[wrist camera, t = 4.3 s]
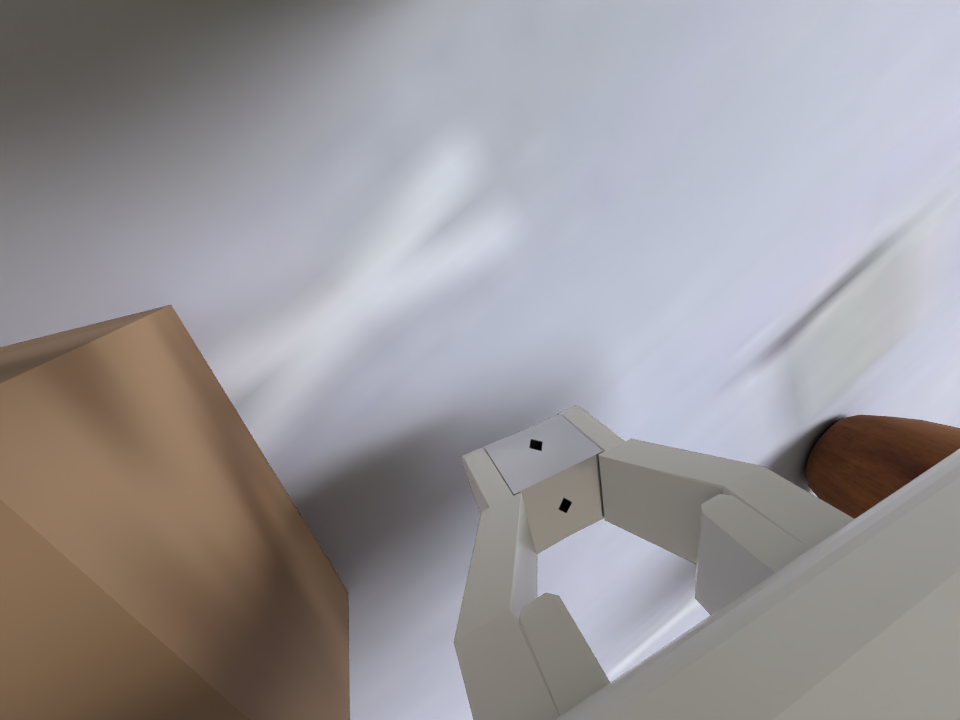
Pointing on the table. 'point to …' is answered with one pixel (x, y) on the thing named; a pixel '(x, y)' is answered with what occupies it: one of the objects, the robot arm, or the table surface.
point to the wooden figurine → (874, 458)
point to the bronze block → (152, 543)
